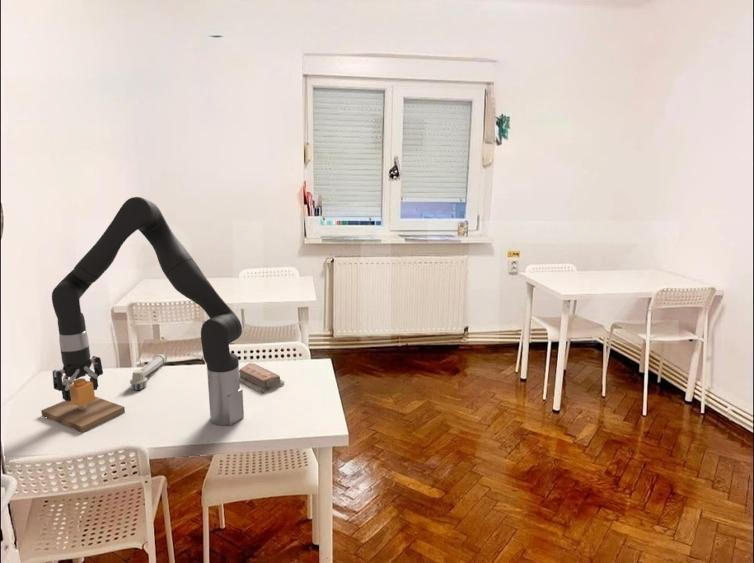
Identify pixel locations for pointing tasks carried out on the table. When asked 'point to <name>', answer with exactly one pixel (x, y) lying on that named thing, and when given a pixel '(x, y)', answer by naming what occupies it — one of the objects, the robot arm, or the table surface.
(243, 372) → the packaged product
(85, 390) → the orange rounded block
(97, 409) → the board
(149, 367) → the gray handled tool
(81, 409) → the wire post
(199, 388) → the table surface
